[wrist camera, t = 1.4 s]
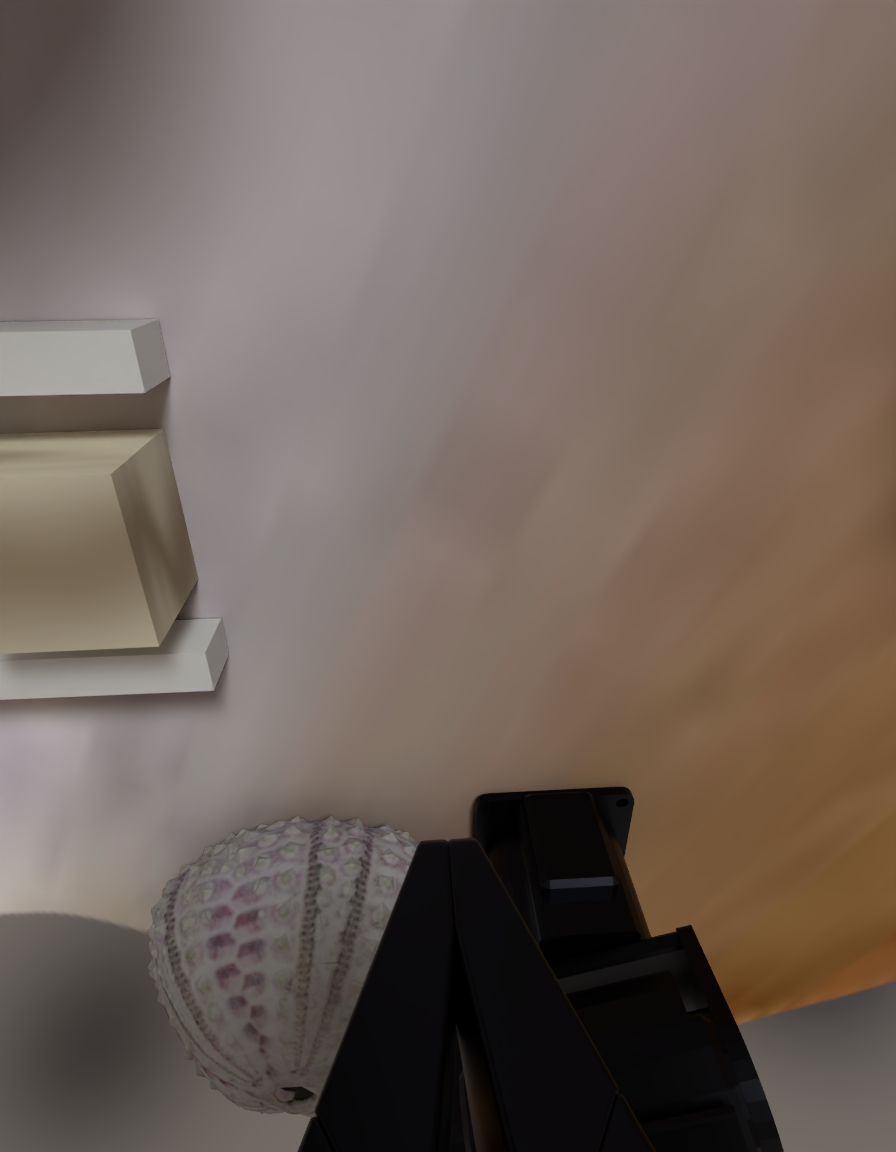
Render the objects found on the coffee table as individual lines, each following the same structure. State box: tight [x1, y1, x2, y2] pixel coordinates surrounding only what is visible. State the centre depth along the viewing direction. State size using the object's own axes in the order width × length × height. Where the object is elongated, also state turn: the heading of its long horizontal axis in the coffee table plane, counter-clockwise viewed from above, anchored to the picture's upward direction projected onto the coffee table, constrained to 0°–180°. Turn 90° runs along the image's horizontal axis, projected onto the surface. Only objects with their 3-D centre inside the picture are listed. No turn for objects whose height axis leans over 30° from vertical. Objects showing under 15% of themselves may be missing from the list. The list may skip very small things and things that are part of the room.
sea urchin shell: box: [147, 815, 419, 1118], centre depth 26 cm, size 13×14×8 cm
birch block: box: [0, 429, 198, 654], centre depth 18 cm, size 5×5×4 cm
